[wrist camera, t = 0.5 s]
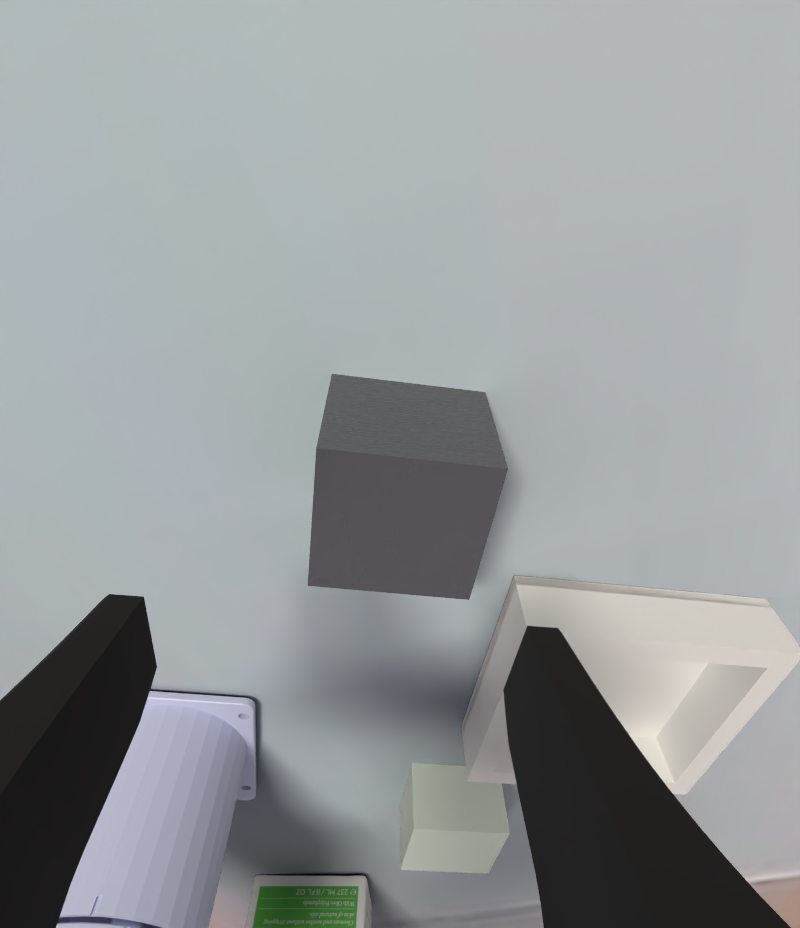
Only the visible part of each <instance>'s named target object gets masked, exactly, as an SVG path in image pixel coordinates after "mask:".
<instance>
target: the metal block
mask: <svg viewBox="0 0 800 928" xmlns="http://www.w3.org/2000/svg"><path fill="white" fill-rule="evenodd" d="M507 470H508V467H507V464H506V461H505V457H504V454H503V451H502V447H501V444H500V441H499V437H498V434H497V430H496V427H495V424H494V420H493V417H492V414H491V410H490V407H489V404H488V400H487V397H486V394H485V392H478V391H470V390H462V389H453V388H445V387H437V386H428V385H420V384H412V383H403V382H395V381H387V380H378V379H370V378H362V377H353V376H345V375H337V374H332V376H331V381H330V386H329V391H328V396H327V400H326V405H325V410H324V415H323V419H322V424H321V429H320V434H319V439H318V443H317V448H316V464H315V480H314V496H313V512H312V528H311V544H310V560H309V576H308V586H319V587H330V588H342V589H353V590H364V591H376V592H387V593H399V594H410V595H422V596H433V597H445V598H456V599H468V600H469V598H470V595H471V591H472V588H473V585H474V581H475V578H476V575H477V571H478V568H479V564H480V561H481V558H482V554H483V551H484V548H485V544H486V541H487V538H488V534H489V531H490V527H491V524H492V521H493V517H494V514H495V511H496V507H497V504H498V500H499V497H500V494H501V490H502V487H503V484H504V480H505V477H506V473H507Z"/></svg>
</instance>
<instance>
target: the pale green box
mask: <svg viewBox="0 0 800 928" xmlns="http://www.w3.org/2000/svg"><path fill="white" fill-rule="evenodd" d="M509 834H510V832H509V826H508V819H507V813H506V806H505V800H504V793H503V787H502V783H485V782H468V781H467V775H466V766H454V765H438V764H422V763H412V764H411V768H410V771H409V775H408V778H407V782H406V785H405V789H404V793H403V796H402V800H401V803H400V870H414V871H436V872H459V873H481V874H488V873H489V871H490V869H491V867H492V866H493V864H494V862H495V860H496V858H497V856H498V855H499V853H500V851H501V849H502V847H503V845H504V843H505V842H506V840H507V838H508V836H509Z"/></svg>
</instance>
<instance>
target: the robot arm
mask: <svg viewBox="0 0 800 928" xmlns="http://www.w3.org/2000/svg"><path fill="white" fill-rule="evenodd" d="M156 668H157V665H156V660H155V654H154V649H153V644H152V638H151V633H150V628H149V622H148V617H147V612H146V606H145V601H144V597H139V596H126V595H113V594H109V595H108V596H106V597H105V598H104V599H103V600H102V601H101V602H100V603H99V604H98V605H97V606H96V607H95V608H94V609H93V610H92V611H91V612H90V613H89V614H88V615H87V616H86V617H85V618H84V619H83V620H82V621H81V622H80V623H79V624H78V625H77V626H76V627H75V628H74V629H73V630H72V631H71V632H70V633H69V634H68V635H67V636H66V637H65V638H64V639H63V640H62V641H61V642H60V643H59V644H58V645H57V646H56V647H55V648H54V649H53V650H52V651H51V652H50V653H49V654H48V655H47V656H46V657H45V658H44V659H43V660H42V661H41V662H40V663H39V664H38V665H37V666H36V667H35V668H34V669H33V670H32V671H31V672H30V673H29V674H28V675H27V676H26V677H24V678H23V679H22V680H21V681H20V682H19V683H18V684H17V685H16V686H15V687H14V688H13V689H12V690H11V691H10V692H9V693H8V694H7V695H6V696H4V697H3V698H2V699H1V700H0V928H208V926H209V922H210V918H211V914H212V910H213V906H214V901H215V896H216V892H217V887H218V883H219V878H220V874H221V869H222V864H223V860H224V855H225V851H226V846H227V842H228V837H229V832H230V828H231V823H232V819H233V814H234V810H235V805H236V800H244V801H250V800H253V799H254V798H255V796H256V718H255V702H254V701H253V700H251V699H249V698H243V697H229V696H214V695H200V694H186V693H172V692H158V691H150V688H151V685H152V682H153V678H154V675H155V671H156ZM503 692H504V703H505V715H506V725H507V734H508V743H509V749H510V754H511V759H512V763H513V768H514V773H515V778H516V783H517V788H518V792H519V797H520V802H521V806H522V811H523V816H524V821H525V825H526V830H527V835H528V839H529V844H530V849H531V853H532V858H533V863H534V868H535V872H536V878H537V884H538V889H539V895H540V901H541V908H542V916H543V924H544V928H791V927H790V926H789V925H788V924H787V923H786V922H785V921H784V920H783V919H782V918H781V917H780V916H779V915H778V914H777V913H776V912H775V911H774V910H773V909H772V908H771V907H770V906H769V905H768V904H767V903H766V902H765V901H764V900H763V898H762V897H761V896H760V895H759V894H758V893H757V892H756V891H755V890H754V889H753V888H752V887H751V885H750V884H749V883H748V882H747V881H746V880H745V879H744V878H743V876H742V875H741V874H740V873H739V872H738V871H737V870H736V869H735V868H734V866H733V865H732V864H731V863H730V862H729V861H728V860H727V859H726V858H725V856H724V855H723V854H722V853H721V852H720V850H719V849H718V848H717V847H716V846H715V845H714V843H713V842H712V841H711V840H710V839H709V838H708V836H707V835H706V834H705V833H704V832H703V831H702V829H701V828H700V827H699V826H698V825H697V823H696V822H695V821H694V820H693V818H692V817H691V816H690V815H689V814H688V812H687V811H686V810H685V809H684V807H683V806H682V805H681V804H680V802H679V801H678V800H677V798H676V797H675V796H674V795H673V793H672V792H671V791H670V789H669V788H668V787H667V786H666V784H665V783H664V782H663V780H662V779H661V778H660V776H659V775H658V774H657V772H656V771H655V770H654V769H653V767H652V766H651V765H650V763H649V762H648V760H647V759H646V758H645V756H644V755H643V754H642V752H641V751H640V750H639V748H638V747H637V745H636V744H635V742H634V741H633V740H632V738H631V737H630V735H629V734H628V732H627V731H626V730H625V728H624V727H623V725H622V724H621V723H620V721H619V720H618V718H617V717H616V715H615V714H614V712H613V711H612V710H611V708H610V707H609V705H608V704H607V702H606V701H605V699H604V698H603V696H602V695H601V693H600V692H599V690H598V689H597V687H596V685H595V684H594V682H593V681H592V679H591V678H590V676H589V675H588V673H587V672H586V670H585V669H584V667H583V665H582V664H581V662H580V661H579V659H578V658H577V656H576V654H575V653H574V651H573V650H572V648H571V646H570V645H569V643H568V642H567V640H566V639H565V637H564V635H563V634H562V632H561V631H560V630H559V629H558V628H551V627H538V626H527V628H526V631H525V633H524V636H523V639H522V641H521V644H520V647H519V649H518V652H517V655H516V657H515V660H514V663H513V665H512V668H511V671H510V673H509V676H508V679H507V681H506V684H505V687H504V689H503Z"/></svg>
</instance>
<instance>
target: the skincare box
mask: <svg viewBox="0 0 800 928" xmlns="http://www.w3.org/2000/svg"><path fill="white" fill-rule="evenodd" d="M371 924H372V906H371V899H370V893H369V887H368V882H367V878H366V877H365V876H361V875H355V876H281V875H256V876H255V878H254V882H253V887H252V893H251V899H250V905H249V910H248V915H247V920H246V925H245V928H371Z"/></svg>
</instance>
